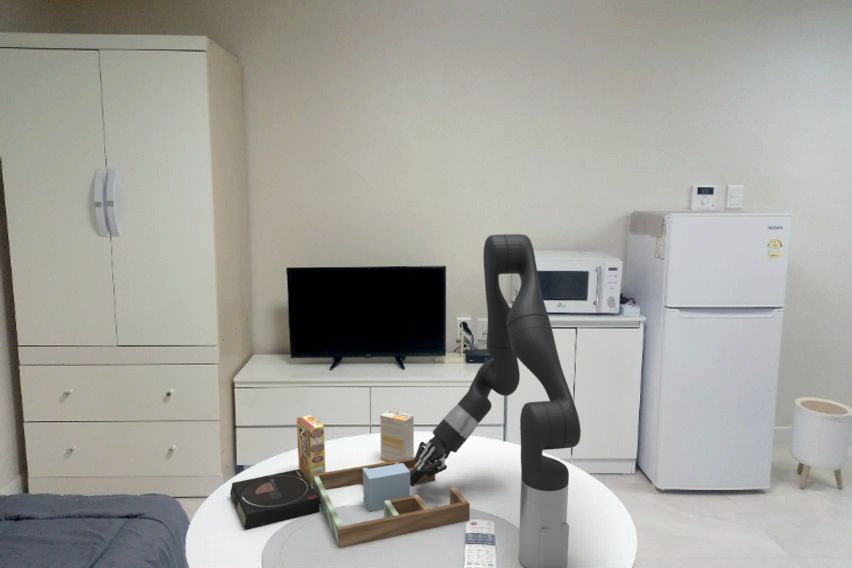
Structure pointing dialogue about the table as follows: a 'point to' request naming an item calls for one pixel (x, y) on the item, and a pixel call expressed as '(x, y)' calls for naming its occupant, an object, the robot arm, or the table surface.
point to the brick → (385, 485)
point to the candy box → (310, 447)
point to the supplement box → (396, 436)
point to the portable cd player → (274, 498)
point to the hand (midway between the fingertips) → (408, 483)
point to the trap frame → (386, 508)
